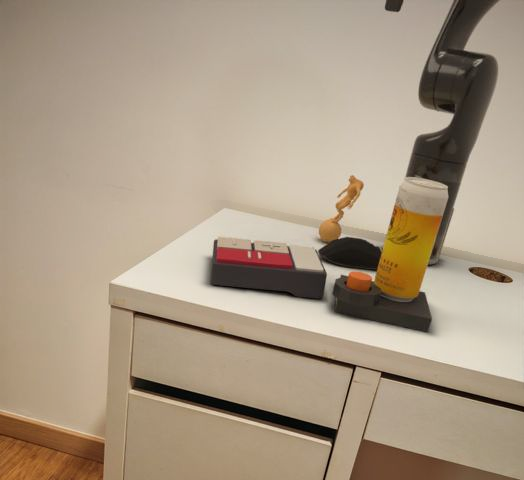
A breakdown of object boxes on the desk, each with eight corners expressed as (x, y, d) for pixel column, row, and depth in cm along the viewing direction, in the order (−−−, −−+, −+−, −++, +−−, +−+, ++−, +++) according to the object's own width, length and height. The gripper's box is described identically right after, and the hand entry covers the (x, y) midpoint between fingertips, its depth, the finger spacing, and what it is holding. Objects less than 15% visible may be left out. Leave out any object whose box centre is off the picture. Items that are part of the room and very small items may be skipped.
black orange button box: (332, 285, 84) (338, 262, 82) (421, 304, 83) (428, 281, 81) (328, 314, 74) (334, 288, 72) (428, 335, 73) (437, 310, 71)
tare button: (346, 282, 76) (349, 269, 75) (369, 286, 76) (372, 274, 75) (345, 289, 74) (348, 276, 73) (369, 294, 73) (372, 281, 73)
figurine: (312, 233, 108) (326, 167, 102) (343, 237, 109) (359, 172, 103) (321, 247, 100) (337, 176, 95) (354, 252, 101) (372, 182, 96)
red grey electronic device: (214, 233, 84) (317, 243, 85) (212, 262, 86) (312, 271, 87) (212, 257, 74) (328, 268, 76) (210, 289, 76) (323, 299, 78)
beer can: (367, 283, 81) (396, 173, 74) (408, 289, 82) (440, 181, 75) (378, 300, 76) (410, 183, 69) (422, 306, 76) (458, 191, 70)
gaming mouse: (410, 276, 94) (417, 252, 92) (321, 264, 92) (326, 239, 90) (398, 263, 100) (405, 240, 98) (314, 251, 97) (319, 228, 96)
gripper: (397, -180, 62) (360, -4, 69) (465, -134, 71) (426, 17, 79) (344, -172, 67) (315, -8, 74) (414, -129, 76) (382, 13, 83)
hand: (372, 5), depth 76 cm, fingers open, 8 cm apart
